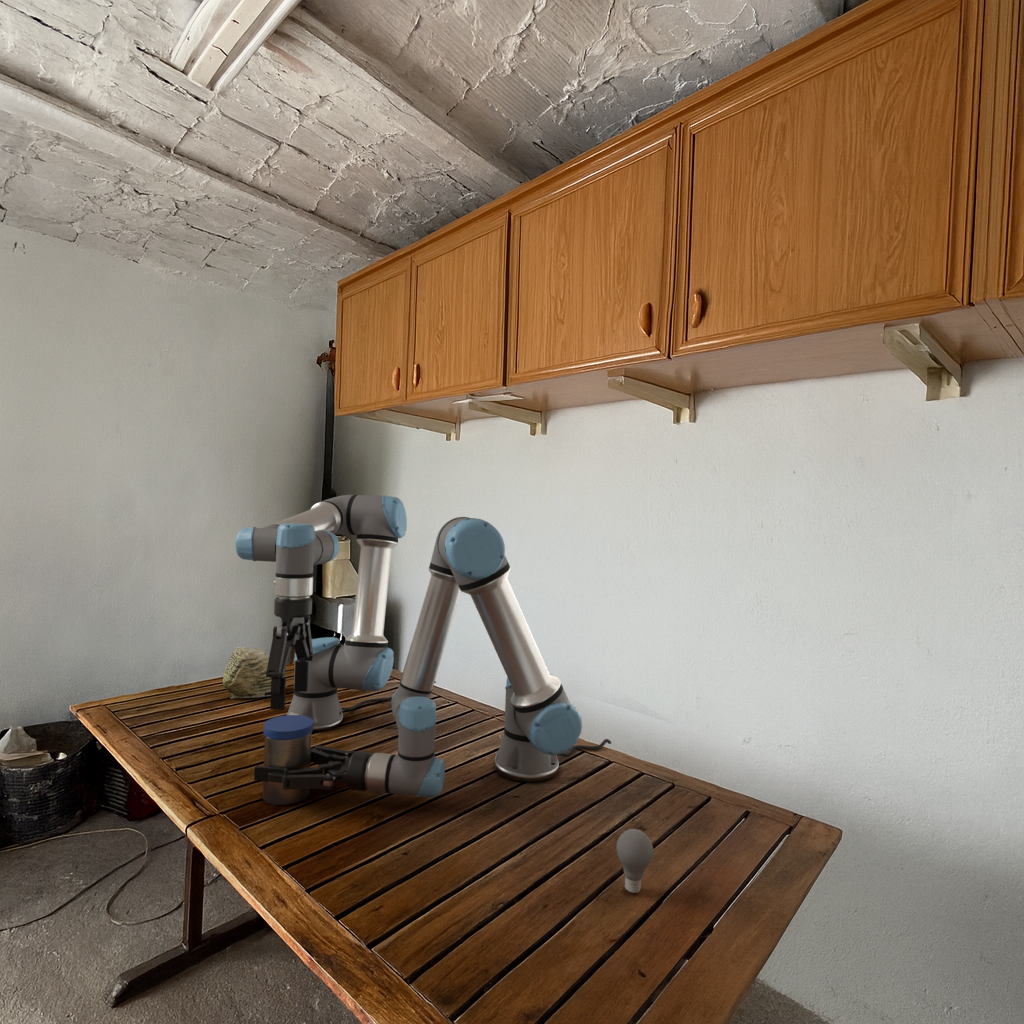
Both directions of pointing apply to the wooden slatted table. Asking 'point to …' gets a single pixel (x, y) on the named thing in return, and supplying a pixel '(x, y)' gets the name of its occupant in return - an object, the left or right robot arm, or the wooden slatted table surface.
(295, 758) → the jar
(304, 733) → the lid
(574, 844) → the wooden slatted table surface
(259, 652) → the fossil
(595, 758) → the wooden slatted table surface
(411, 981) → the wooden slatted table surface
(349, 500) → the left robot arm
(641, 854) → the light bulb
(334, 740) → the wooden slatted table surface
